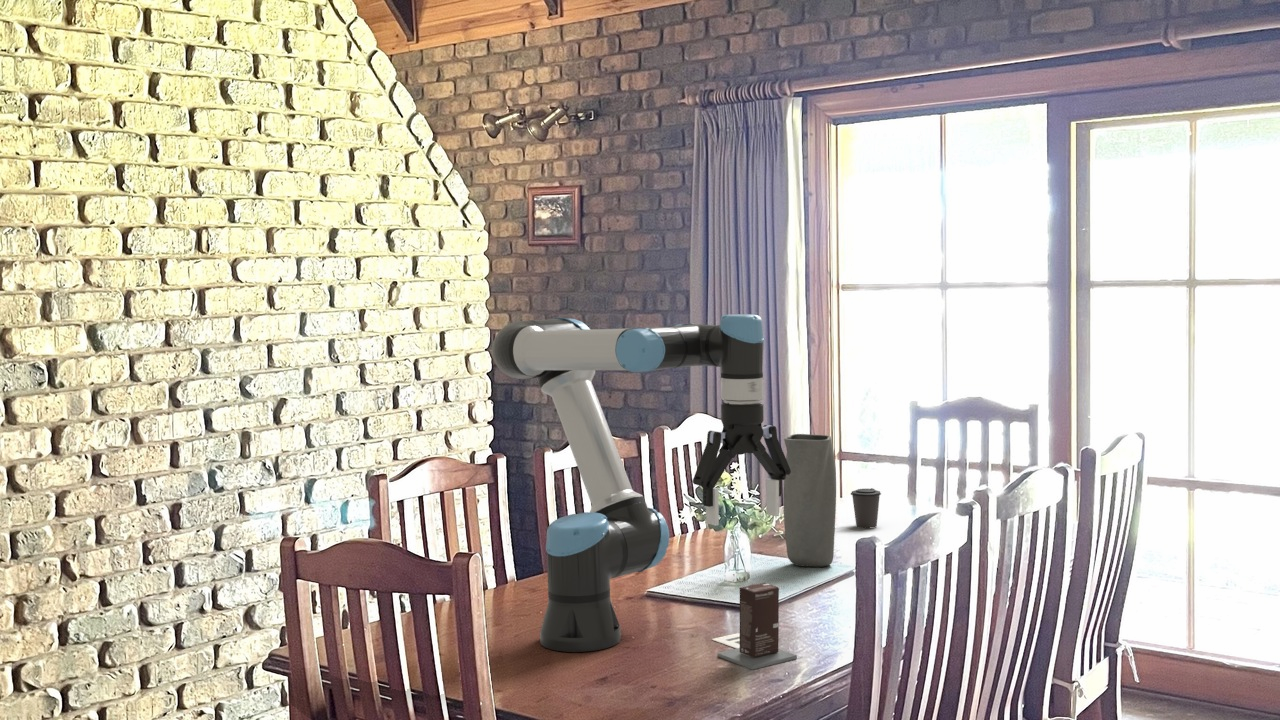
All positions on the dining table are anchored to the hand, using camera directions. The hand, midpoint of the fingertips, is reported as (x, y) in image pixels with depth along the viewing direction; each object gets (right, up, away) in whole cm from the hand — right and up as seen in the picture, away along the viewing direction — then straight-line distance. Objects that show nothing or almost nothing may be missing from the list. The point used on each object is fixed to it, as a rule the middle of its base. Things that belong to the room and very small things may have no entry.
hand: (743, 519), depth 230 cm
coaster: (+2, -24, -1) cm, 24 cm away
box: (+3, -24, -1) cm, 24 cm away
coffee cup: (+42, -16, +113) cm, 122 cm away
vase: (+21, -19, +70) cm, 76 cm away
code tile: (0, -24, +9) cm, 25 cm away
